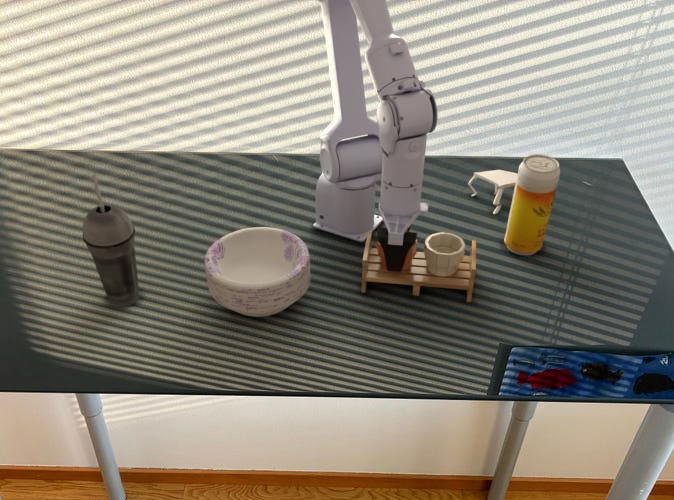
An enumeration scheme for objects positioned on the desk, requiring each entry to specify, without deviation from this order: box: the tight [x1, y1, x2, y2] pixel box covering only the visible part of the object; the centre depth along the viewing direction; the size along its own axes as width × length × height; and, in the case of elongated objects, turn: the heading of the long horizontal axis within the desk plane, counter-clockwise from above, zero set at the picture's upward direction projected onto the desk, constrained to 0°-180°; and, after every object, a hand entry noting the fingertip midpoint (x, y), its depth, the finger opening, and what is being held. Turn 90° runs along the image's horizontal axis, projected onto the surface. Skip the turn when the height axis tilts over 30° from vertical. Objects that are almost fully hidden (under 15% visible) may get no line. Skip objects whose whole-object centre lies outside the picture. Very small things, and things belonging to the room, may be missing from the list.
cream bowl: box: [423, 231, 466, 277], centre depth 113 cm, size 6×6×4 cm
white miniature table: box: [467, 169, 518, 215], centre depth 132 cm, size 12×8×5 cm
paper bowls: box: [203, 226, 311, 318], centre depth 112 cm, size 15×15×8 cm
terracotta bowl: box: [376, 230, 418, 272], centre depth 114 cm, size 6×6×4 cm
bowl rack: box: [360, 232, 477, 303], centre depth 115 cm, size 8×16×6 cm, turn 81°
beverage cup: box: [82, 174, 140, 308], centre depth 108 cm, size 7×7×20 cm
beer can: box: [503, 153, 561, 256], centre depth 119 cm, size 6×6×15 cm
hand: (396, 257), depth 115 cm, fingers closed on terracotta bowl, 5 cm apart
